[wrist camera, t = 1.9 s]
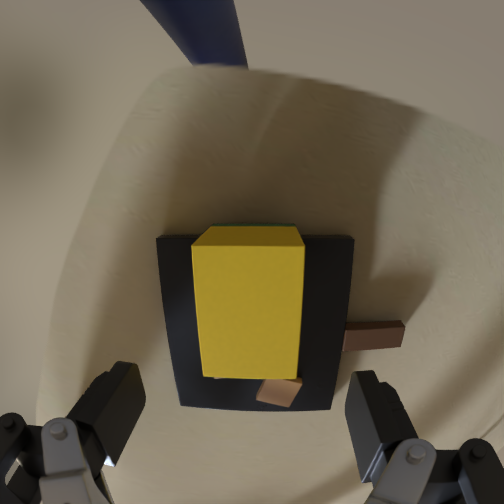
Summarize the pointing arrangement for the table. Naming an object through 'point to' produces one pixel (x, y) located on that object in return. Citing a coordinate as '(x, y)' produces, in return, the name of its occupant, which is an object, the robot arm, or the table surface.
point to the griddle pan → (311, 336)
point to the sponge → (249, 299)
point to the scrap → (279, 391)
